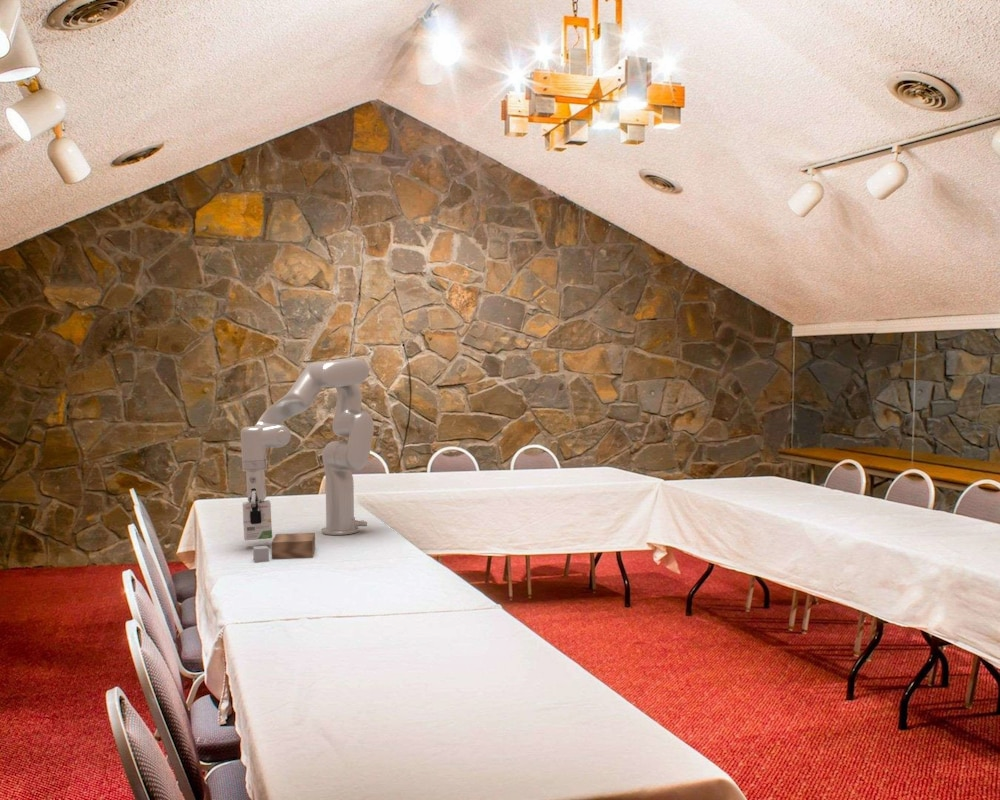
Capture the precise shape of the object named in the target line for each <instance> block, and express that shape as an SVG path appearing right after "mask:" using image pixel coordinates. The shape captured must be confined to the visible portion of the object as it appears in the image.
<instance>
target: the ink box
mask: <svg viewBox="0 0 1000 800" xmlns="http://www.w3.org/2000/svg"><path fill="white" fill-rule="evenodd" d="M256 504H257V505H258V503H256ZM271 504H272V502H271V501H270V500H269V499H268V500H266V499H265V500H264V501H263V502H262V501H260V511H261V523H260V524H251V519H250V502H249V501H246V502H245V501H244V502H242V520H243V538H244V541H245V542H246V541H255V540H267V539H273V526H272V525H273V524H272V505H271Z"/></svg>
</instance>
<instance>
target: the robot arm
mask: <svg viewBox="0 0 1000 800" xmlns="http://www.w3.org/2000/svg"><path fill="white" fill-rule="evenodd" d="M369 369H370V368H369V366H368V364H367V363H366V362H365V361H364V360H363V359H360V358H337V359H333V360H331V361H315V362H314V361H313V362H310V363H309V364H308V365H306V367H305V368H304V369H303V371H302V372H301V373H300V375H299V376H298V378H297V379H296V380H295V381H294V383H293V385H292V386H291V387H290V389H289V390H288V392H287V393H286V394H285V395H283V396H282V397H281V398H279V399H278V400H277V401H275V402H274V403H273V404H272V405H270V406H269V407H268V408H267V409H266V410H265V411H264V412H263V413H262V414H261V416H260V417H259V419H258V420H257V421H256V423H255V425H254V426H253V425H252V426H244V427H242V429H241V431H240V445H241V447H240V448H241V449H240V450H241V466H242V472H245V476H246V477H245V478H246V495H247V502H250V519H251V524H260V523H261V511H260V501H262V502H263V501H266V498H267V488H266V487H267V486H266V475H265V471H266V470H268V466H267V465H268V464H267V448H283V447H285V446H286V445H288V444H289V443H290V441H291V438H292V432H291V430H290V429H289V428H288V427H287V426H285V425H283V423H284V422H285V421H286V420H288V419H290V418H291V417H294V416H297V415H299V414H302V413H303V412H305V411H307V410H308V409H309V408H310V407H311V405H312V404H313V403H314V401H315V399H316V398H317V397H318V395H319V394H320V393H321V391H322V389H324V388H335V390H336V393H337V395H336V396H337V398H336V405H335V409H334V410H335V411H334V413H333V414H334V415H333V420H332V432H333V434H334V435H336V436H337V437H340V438H344V439H345V438H346V439H347V438H348V441H346V440H345V441H344V440H343V441H342V440H333V441H330V442H329V443H327V444H326V445H325V446H324V447H323V450H322V455H321V456H322V462H323V467H324V476H325V521H326V523H325V524H326V525H325V527H323V528H322V529H321V533H322V534H325V535H329V536H345V535H352V534H355V533H359V532H360V530H359V527H367V526H368V520H358V519H356V517H355V508H354V507H355V499H354V497H355V496H354V493H355V491H354V486H355V485H354V483H355V482H354V477H353V473H352V471H360V470H362V469H363V468H364V467H366V465H367V464H368V461H369V457H370V452H371V447H372V443H373V437H374V432H375V431H374V430H375V424H374V419H373V417H372V415H370V414H369V413H368V412H365V411H361V408H362V401H363V395H362V390H361V387H360V385H359V384H363V383H364V382H365V381H366V380H367V379H368V377H369V373H370V370H369ZM256 503H258V505H257V504H256Z"/></svg>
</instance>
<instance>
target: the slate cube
mask: <svg viewBox="0 0 1000 800" xmlns="http://www.w3.org/2000/svg"><path fill="white" fill-rule="evenodd" d="M252 551H253V552H252V554H253V559H252V561H254V563H264V562H269V561H270V548H269V547H268V546H267V545H261V546H260V545H259V546H253V547H252Z"/></svg>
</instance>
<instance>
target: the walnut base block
mask: <svg viewBox="0 0 1000 800" xmlns="http://www.w3.org/2000/svg"><path fill="white" fill-rule="evenodd" d="M315 551H316V533H315V532H304V533H302V532H299V533H276V534H275V535H274V537H273V538H272V541H271V559H272V560H276V559H279V560H280V559H281V560H282V559H300V558H303V559H305V558H313V557H314V553H315Z"/></svg>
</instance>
